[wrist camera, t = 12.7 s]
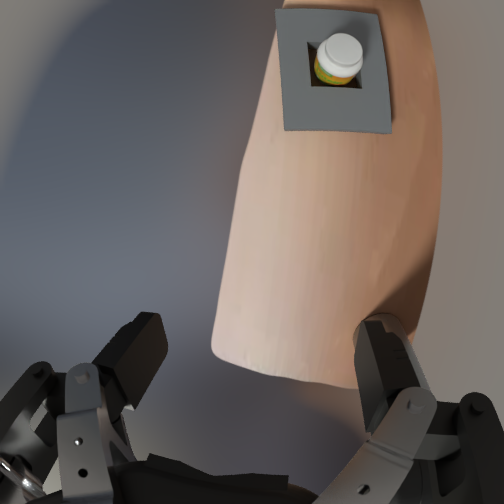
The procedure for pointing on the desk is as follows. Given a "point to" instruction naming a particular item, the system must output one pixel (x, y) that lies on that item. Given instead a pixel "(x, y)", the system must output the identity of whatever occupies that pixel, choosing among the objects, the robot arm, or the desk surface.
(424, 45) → the desk surface
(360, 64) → the supplement bottle
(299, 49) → the socket holder
